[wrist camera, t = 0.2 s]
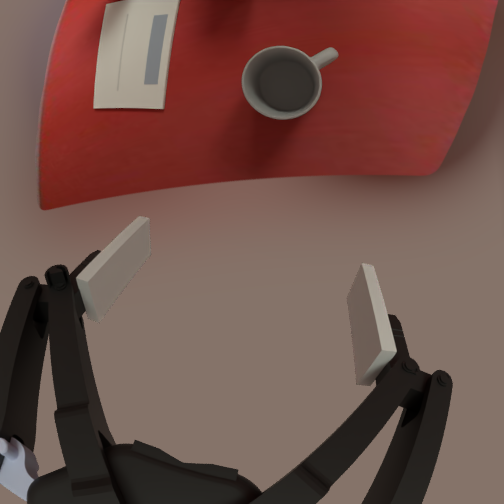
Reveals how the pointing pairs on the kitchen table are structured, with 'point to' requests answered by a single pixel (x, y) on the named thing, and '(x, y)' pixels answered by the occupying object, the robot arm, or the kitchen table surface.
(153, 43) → the paper pad
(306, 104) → the mug
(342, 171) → the kitchen table surface
